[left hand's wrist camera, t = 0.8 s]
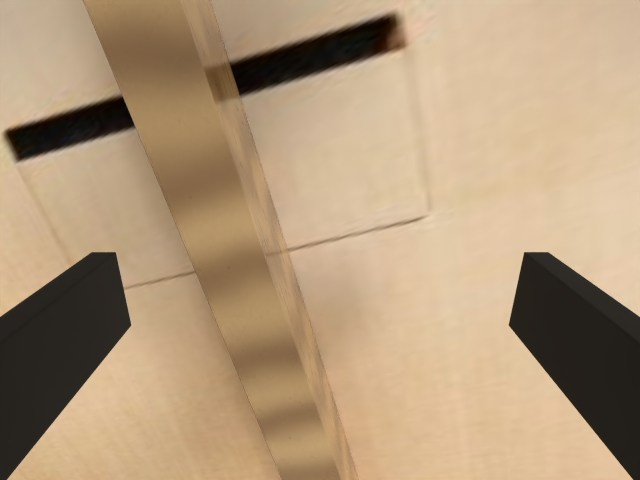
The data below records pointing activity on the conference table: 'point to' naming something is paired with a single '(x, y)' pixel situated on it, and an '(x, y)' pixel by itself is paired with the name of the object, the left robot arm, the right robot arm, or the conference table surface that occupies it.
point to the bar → (226, 220)
